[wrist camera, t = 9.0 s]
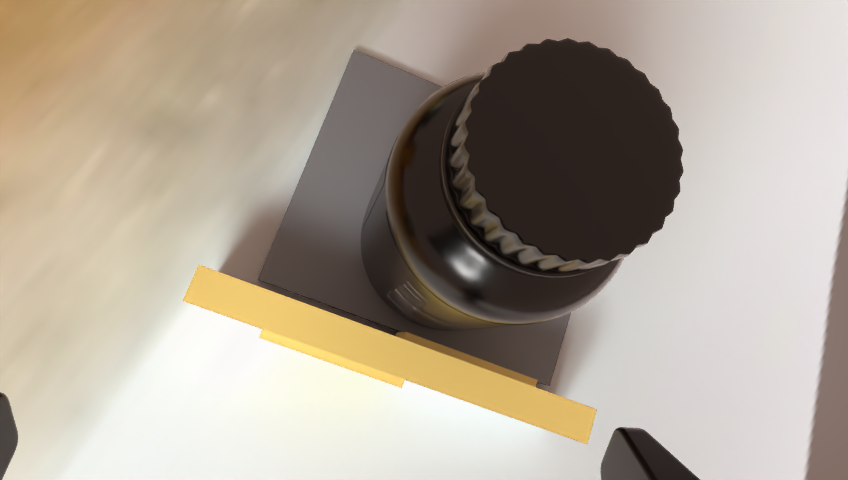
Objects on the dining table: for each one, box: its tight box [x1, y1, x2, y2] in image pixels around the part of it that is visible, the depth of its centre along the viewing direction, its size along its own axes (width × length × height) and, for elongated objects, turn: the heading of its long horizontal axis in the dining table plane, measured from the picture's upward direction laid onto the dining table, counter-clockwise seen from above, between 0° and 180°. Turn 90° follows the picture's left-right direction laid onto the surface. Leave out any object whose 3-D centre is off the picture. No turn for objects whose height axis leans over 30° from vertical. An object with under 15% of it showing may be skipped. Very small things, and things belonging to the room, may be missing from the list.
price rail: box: [183, 265, 597, 444], centre depth 21 cm, size 2×14×4 cm, turn 71°
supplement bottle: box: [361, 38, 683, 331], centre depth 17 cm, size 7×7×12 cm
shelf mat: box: [258, 50, 571, 386], centre depth 24 cm, size 10×12×1 cm
